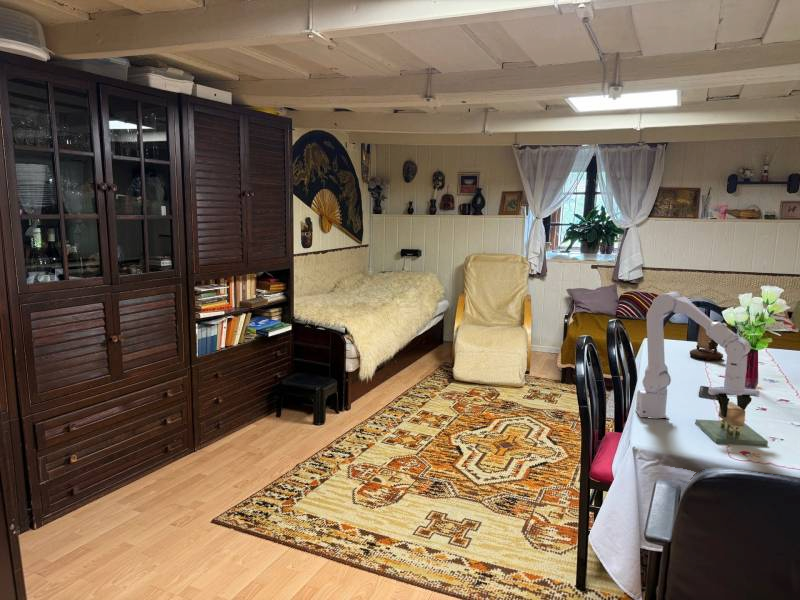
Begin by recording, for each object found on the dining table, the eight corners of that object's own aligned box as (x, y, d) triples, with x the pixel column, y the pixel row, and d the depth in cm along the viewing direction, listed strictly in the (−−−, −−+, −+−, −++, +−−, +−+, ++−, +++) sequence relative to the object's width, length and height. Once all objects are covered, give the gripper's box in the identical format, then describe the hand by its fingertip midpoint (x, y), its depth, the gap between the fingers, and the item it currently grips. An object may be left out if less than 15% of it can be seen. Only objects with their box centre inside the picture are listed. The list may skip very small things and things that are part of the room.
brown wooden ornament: (682, 356, 290) (686, 317, 287) (702, 353, 296) (706, 315, 293) (709, 363, 276) (712, 322, 273) (729, 360, 282) (733, 320, 280)
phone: (698, 395, 223) (700, 385, 236) (698, 398, 224) (700, 388, 236) (721, 398, 220) (722, 388, 232) (721, 401, 220) (722, 391, 233)
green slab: (715, 442, 178) (716, 432, 177) (695, 423, 195) (696, 413, 194) (767, 445, 176) (768, 435, 175) (742, 426, 193) (743, 416, 192)
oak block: (730, 425, 180) (731, 410, 180) (718, 415, 189) (719, 401, 189) (743, 426, 180) (745, 411, 179) (731, 416, 189) (732, 402, 188)
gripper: (716, 378, 180) (712, 419, 181) (765, 380, 178) (761, 422, 180) (707, 372, 186) (703, 412, 188) (755, 374, 185) (750, 414, 186)
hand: (731, 416), depth 184 cm, fingers closed on oak block, 4 cm apart
